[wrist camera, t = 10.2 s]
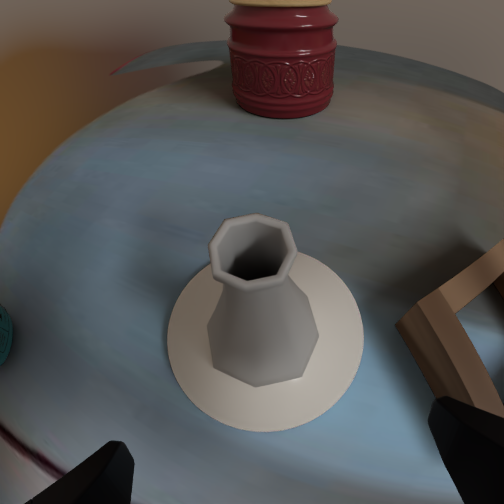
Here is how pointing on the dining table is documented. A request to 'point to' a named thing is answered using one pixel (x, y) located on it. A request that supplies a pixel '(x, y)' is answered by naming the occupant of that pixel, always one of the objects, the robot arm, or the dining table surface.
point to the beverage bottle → (5, 334)
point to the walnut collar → (455, 335)
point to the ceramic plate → (279, 394)
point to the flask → (258, 303)
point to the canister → (282, 56)
